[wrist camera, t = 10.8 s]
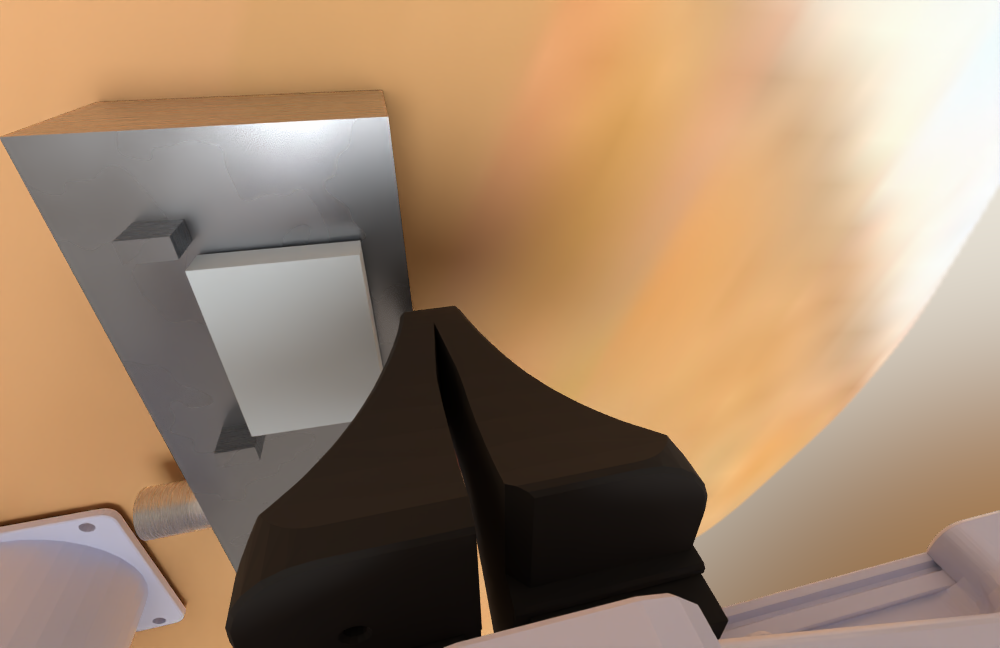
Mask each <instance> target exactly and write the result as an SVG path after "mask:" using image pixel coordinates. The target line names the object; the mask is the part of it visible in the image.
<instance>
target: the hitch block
mask: <svg viewBox="0 0 1000 648" xmlns="http://www.w3.org/2000/svg"><path fill="white" fill-rule="evenodd" d="M0 139H1V141H2V143H3V145H4V147H5V149H6V150H7V152H8V154H9V156H10V158H11V160H12V161H13V163H14V165H15V167H16V169H17V171H18V172H19V174H20V176H21V178H22V180H23V182H24V184H25V185H26V187H27V189H28V191H29V193H30V195H31V196H32V198H33V200H34V202H35V204H36V206H37V207H38V209H39V211H40V213H41V215H42V217H43V218H44V220H45V222H46V224H47V226H48V228H49V229H50V231H51V233H52V235H53V237H54V239H55V240H56V242H57V244H58V246H59V248H60V250H61V251H62V253H63V255H64V257H65V259H66V261H67V263H68V264H69V266H70V268H71V270H72V272H73V274H74V275H75V277H76V279H77V281H78V283H79V285H80V286H81V288H82V290H83V292H84V294H85V296H86V297H87V299H88V301H89V303H90V305H91V307H92V308H93V310H94V312H95V314H96V316H97V318H98V319H99V321H100V323H101V325H102V327H103V329H104V330H105V332H106V334H107V336H108V338H109V340H110V342H111V343H112V345H113V347H114V349H115V351H116V353H117V354H118V356H119V358H120V360H121V362H122V364H123V365H124V367H125V369H126V371H127V373H128V375H129V376H130V378H131V380H132V382H133V384H134V386H135V387H136V389H137V391H138V393H139V395H140V397H141V398H142V400H143V402H144V404H145V406H146V408H147V409H148V411H149V413H150V415H151V417H152V419H153V421H154V422H155V424H156V426H157V428H158V430H159V432H160V433H161V435H162V437H163V439H164V441H165V443H166V444H167V446H168V448H169V450H170V452H171V454H172V455H173V457H174V459H175V461H176V463H177V465H178V466H179V468H180V470H181V472H182V474H183V476H184V477H185V479H186V481H187V483H188V485H189V487H190V488H191V490H192V492H193V494H194V496H195V498H196V500H197V501H198V503H199V505H200V507H201V509H202V511H203V512H204V514H205V516H206V518H207V520H208V522H209V523H210V525H211V527H212V529H213V531H214V533H215V534H216V536H217V538H218V540H219V542H220V544H221V545H222V547H223V549H224V551H225V553H226V555H227V556H228V558H229V560H230V562H231V564H232V566H233V568H234V569H235V571H236V573H237V570H238V567H239V563H240V560H241V558H242V555H243V553H244V550H245V547H246V544H247V541H248V539H249V536H250V534H251V531H252V529H253V526H254V524H255V522H256V519H257V517H258V516H259V515H260V514H261V513H262V512H263V511H264V510H266V509H267V508H268V507H269V506H271V505H272V504H273V503H274V502H275V501H276V500H277V499H279V498H280V497H281V496H282V495H283V494H284V493H286V492H287V491H288V490H289V489H290V488H291V487H293V486H294V485H295V484H296V483H297V482H298V481H299V480H300V479H301V478H302V477H303V476H305V475H306V474H307V472H308V471H309V470H310V469H311V468H312V467H313V466H314V465H315V464H316V463H317V462H318V461H319V460H320V459H321V458H322V457H323V455H324V454H325V453H326V452H327V451H328V450H329V449H330V448H331V447H332V446H333V444H334V443H335V442H336V441H337V440H338V438H339V437H340V436H341V435H342V433H343V432H344V431H345V429H346V428H347V427H348V425H349V424H350V423H351V422H346V423H339V424H333V425H326V426H319V427H313V428H306V429H300V430H293V431H286V432H280V433H273V434H266V435H260V436H253V437H252V436H251V434H250V431H249V429H248V426H247V424H246V421H245V419H244V416H243V414H242V411H241V409H240V406H239V404H238V401H237V399H236V396H235V394H234V391H233V389H232V386H231V384H230V382H229V379H228V377H227V374H226V372H225V369H224V367H223V364H222V362H221V359H220V357H219V354H218V352H217V349H216V347H215V344H214V342H213V339H212V337H211V334H210V332H209V329H208V327H207V325H206V322H205V320H204V317H203V315H202V312H201V310H200V307H199V305H198V302H197V300H196V297H195V295H194V292H193V290H192V287H191V285H190V282H189V280H188V277H187V275H186V272H185V271H186V269H187V268H188V266H189V265H190V264H191V262H192V261H193V259H194V258H195V257H196V255H203V254H214V253H225V252H236V251H248V250H259V249H270V248H281V247H292V246H303V245H314V244H325V243H337V242H348V241H359V240H360V242H361V248H362V253H363V259H364V264H365V270H366V276H367V281H368V287H369V293H370V298H371V304H372V309H373V315H374V321H375V326H376V332H377V338H378V343H379V349H380V355H381V360H382V366H383V368H384V366H385V364H386V362H387V359H388V357H389V354H390V352H391V349H392V347H393V344H394V341H395V338H396V335H397V332H398V328H399V323H400V316H401V315H402V314H403V313H404V312H411V311H413V310H412V302H411V294H410V286H409V278H408V270H407V262H406V254H405V246H404V238H403V230H402V222H401V214H400V206H399V198H398V190H397V182H396V174H395V166H394V158H393V150H392V142H391V134H390V126H389V118H388V113H387V109H386V105H385V100H384V96H383V92H382V90H370V91H346V92H322V93H299V94H275V95H251V96H228V97H204V98H180V99H157V100H133V101H109V102H95V103H92V104H90V105H87V106H84V107H81V108H79V109H76V110H73V111H70V112H67V113H65V114H62V115H59V116H56V117H54V118H51V119H48V120H45V121H42V122H40V123H37V124H34V125H31V126H29V127H26V128H23V129H20V130H18V131H15V132H12V133H9V134H6V135H4V136H1V137H0Z"/></svg>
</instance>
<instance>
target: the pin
mask: <svg viewBox="0 0 1000 648" xmlns="http://www.w3.org/2000/svg"><path fill="white" fill-rule="evenodd" d="M455 454H456V453H455ZM457 461H458V460H457ZM458 464H459V463H458ZM459 467H460V466H459ZM133 523H134V528H135V531H136V534H137V535H138V537H139V538H140V539H142V540H144V541H147V540H152V539H157V538H162V537H168V536H173V535H178V534H183V533H188V532H193V531H198V530H204V529H209V528H212V527H211V525H210V523H209V522H208V520H207V518H206V516H205V514H204V512H203V511H202V509H201V507H200V505H199V503H198V501H197V500H196V498H195V496H194V494H193V492H192V490H191V488H190V487H189V485H188V483H187V481H186V480H184V481H179V482H173V483H167V484H162V485H156V486H150V487H146V488H144V489H142V490H141V491H140V492H139V494H138V496H137V498H136V501H135V504H134V509H133Z"/></svg>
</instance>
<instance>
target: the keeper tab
mask: <svg viewBox="0 0 1000 648" xmlns="http://www.w3.org/2000/svg"><path fill="white" fill-rule="evenodd" d="M185 272H186V275H187V277H188V280H189V282H190V285H191V287H192V290H193V292H194V295H195V297H196V300H197V302H198V305H199V307H200V310H201V312H202V315H203V317H204V320H205V322H206V325H207V327H208V329H209V332H210V334H211V337H212V339H213V342H214V344H215V347H216V349H217V352H218V354H219V357H220V359H221V362H222V364H223V367H224V369H225V372H226V374H227V377H228V379H229V382H230V384H231V386H232V389H233V391H234V394H235V396H236V399H237V401H238V404H239V406H240V409H241V411H242V414H243V416H244V419H245V421H246V424H247V426H248V429H249V431H250V434H251V436H252V437H253V436H260V435H266V434H273V433H280V432H286V431H293V430H300V429H306V428H313V427H319V426H326V425H333V424H339V423H346V422H351V421H352V420H353V419H354V417H355V416H356V415H357V413H358V412H359V410H360V409H361V407H362V406H363V404H364V403H365V401H366V399H367V398H368V396H369V394H370V393H371V391H372V389H373V388H374V386H375V384H376V382H377V380H378V378H379V376H380V374H381V372H382V370H383V366H382V360H381V355H380V349H379V343H378V338H377V332H376V326H375V321H374V315H373V309H372V304H371V298H370V293H369V287H368V281H367V276H366V270H365V264H364V259H363V253H362V248H361V242H360V240H359V241H348V242H337V243H325V244H314V245H303V246H292V247H281V248H270V249H259V250H248V251H236V252H225V253H214V254H203V255H196V257H195V258H194V259H193V261H192V262H191V264H190V265H189V266H188V268H187V269H186V271H185Z"/></svg>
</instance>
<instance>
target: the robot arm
mask: <svg viewBox="0 0 1000 648" xmlns="http://www.w3.org/2000/svg"><path fill="white" fill-rule="evenodd" d="M455 453H456V454H455ZM457 460H458V461H457ZM458 463H459V464H458ZM459 466H460V467H459ZM460 470H461V471H460ZM461 473H462V474H461ZM462 476H463V477H462ZM463 480H464V481H463ZM464 483H465V484H464ZM706 502H707V492H706V488H705V484H704V483H703V481H702V480H701V478H700V477H699V476H698V474H697V473H696V471H695V470H694V469H693V467H692V466H691V464H690V463H689V462H688V460H687V459H686V458H685V456H684V455H683V454H682V452H681V451H680V450H679V449H678V448H677V447H676V446H675V445H674V443H673V442H672V441H671V440H670V439H669V437H668V436H667V435H664V434H661V433H658V432H655V431H652V430H649V429H645V428H642V427H639V426H636V425H633V424H630V423H626V422H623V421H621V420H618V419H615V418H613V417H610V416H608V415H605V414H603V413H601V412H598V411H596V410H593V409H591V408H589V407H587V406H584V405H582V404H580V403H578V402H576V401H574V400H572V399H570V398H568V397H566V396H564V395H562V394H561V393H559V392H557V391H555V390H553V389H552V388H550V387H548V386H546V385H545V384H543V383H542V382H540V381H538V380H537V379H535V378H534V377H532V376H531V375H529V374H528V373H526V372H525V371H524V370H522V369H521V368H520V367H518V366H517V365H516V364H515V363H513V362H512V361H511V360H510V359H508V358H507V357H506V356H505V355H504V354H502V353H501V352H500V351H499V350H498V349H497V348H496V347H495V346H494V345H492V344H491V343H490V342H489V341H488V340H487V339H486V338H485V337H484V336H483V335H482V334H481V333H480V332H479V331H478V330H477V329H476V328H475V327H474V326H473V325H472V324H471V322H470V321H469V320H468V319H467V318H466V317H465V316H464V314H463V313H462V312H461V311H460V310H459V309H458V308H457V307H456V306H450V307H442V308H434V309H426V310H418V311H411V312H404V313H403V314H402V315H401V316H400V323H399V328H398V332H397V335H396V338H395V341H394V344H393V347H392V349H391V352H390V354H389V357H388V359H387V362H386V364H385V366H384V368H383V370H382V372H381V374H380V376H379V378H378V380H377V382H376V384H375V386H374V388H373V389H372V391H371V393H370V394H369V396H368V398H367V399H366V401H365V403H364V404H363V406H362V407H361V409H360V410H359V412H358V413H357V415H356V416H355V417H354V419H353V420H352V421H351V423H350V424H349V425H348V427H347V428H346V429H345V431H344V432H343V433H342V435H341V436H340V437H339V438H338V440H337V441H336V442H335V443H334V444H333V446H332V447H331V448H330V449H329V450H328V451H327V452H326V453H325V454H324V455H323V457H322V458H321V459H320V460H319V461H318V462H317V463H316V464H315V465H314V466H313V467H312V468H311V469H310V470H309V471H308V472H307V474H306V475H305V476H303V477H302V478H301V479H300V480H299V481H298V482H297V483H296V484H295V485H294V486H293V487H291V488H290V489H289V490H288V491H287V492H286V493H284V494H283V495H282V496H281V497H280V498H279V499H277V500H276V501H275V502H274V503H273V504H272V505H271V506H269V507H268V508H267V509H266V510H264V511H263V512H262V513H261V514H260V515H259V516H258V517H257V519H256V522H255V524H254V526H253V529H252V531H251V534H250V536H249V539H248V541H247V544H246V547H245V550H244V553H243V555H242V558H241V560H240V563H239V567H238V570H237V573H236V577H235V582H234V587H233V592H232V597H231V602H230V607H229V612H228V617H227V622H226V627H225V629H226V632H227V635H228V638H229V641H230V643H231V645H232V646H233V648H1000V510H999V511H995V512H991V513H987V514H984V515H980V516H976V517H972V518H968V519H964V520H961V521H958V522H955V523H953V524H950V525H949V526H947V527H946V528H944V529H942V531H940V532H939V533H938V534H937V535H936V536H935V537H934V539H933V540H932V541H931V543H930V544H929V546H928V547H927V552H924V553H921V554H917V555H913V556H910V557H906V558H902V559H899V560H895V561H891V562H888V563H884V564H880V565H876V566H873V567H869V568H865V569H862V570H858V571H854V572H851V573H847V574H843V575H840V576H836V577H832V578H829V579H825V580H822V581H818V582H814V583H811V584H807V585H803V586H799V587H796V588H792V589H789V590H785V591H781V592H778V593H774V594H770V595H766V596H763V597H759V598H755V599H751V600H748V601H744V602H741V603H737V604H734V605H729V606H726V607H722V608H721V606H720V605H719V603H718V601H717V600H716V598H715V596H714V595H713V593H712V591H711V590H710V588H709V586H708V585H707V583H706V581H705V580H704V578H703V576H702V575H701V573H703V572H704V570H705V566H704V562H703V561H702V559H701V557H700V556H699V554H698V553H697V551H696V549H695V548H694V546H693V543H694V540H695V537H696V534H697V531H698V529H699V526H700V523H701V520H702V517H703V514H704V511H705V507H706ZM476 539H477V540H476ZM477 544H478V549H479V555H480V560H481V565H482V571H483V576H484V581H485V587H486V592H487V598H488V603H489V608H490V614H491V619H492V625H493V630H494V633H492V634H489V635H485V636H481V630H482V624H481V607H480V590H479V574H478V557H477ZM185 612H186V608H185V607H184V605H183V604H182V602H181V601H180V599H179V598H178V597H177V595H176V594H175V592H174V591H173V589H172V588H171V586H170V585H169V584H168V582H167V581H166V579H165V578H164V576H163V575H162V574H161V572H160V571H159V569H158V568H157V566H156V565H155V563H154V562H153V561H152V559H151V558H150V556H149V555H148V553H147V552H146V551H145V549H144V548H143V546H142V545H141V543H140V542H139V540H138V539H137V538H136V536H135V535H134V533H133V532H132V530H131V529H130V528H129V526H128V525H127V523H126V522H125V520H124V519H123V517H122V516H121V515H120V514H119V513H118V512H117V511H116V510H113V509H109V508H102V509H96V510H90V511H85V512H79V513H74V514H68V515H63V516H57V517H52V518H46V519H41V520H35V521H29V522H24V523H18V524H13V525H7V526H2V527H0V648H130V646H131V643H132V640H133V637H134V635H135V632H137V631H142V630H146V629H151V628H155V627H160V626H164V625H168V624H173V623H176V622H179V621H181V620H182V619H183V618H184V615H185Z"/></svg>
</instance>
